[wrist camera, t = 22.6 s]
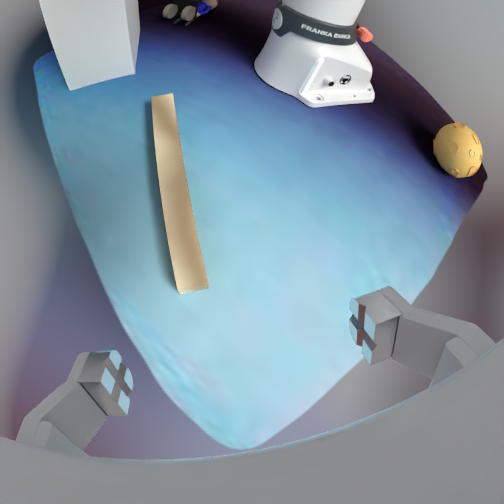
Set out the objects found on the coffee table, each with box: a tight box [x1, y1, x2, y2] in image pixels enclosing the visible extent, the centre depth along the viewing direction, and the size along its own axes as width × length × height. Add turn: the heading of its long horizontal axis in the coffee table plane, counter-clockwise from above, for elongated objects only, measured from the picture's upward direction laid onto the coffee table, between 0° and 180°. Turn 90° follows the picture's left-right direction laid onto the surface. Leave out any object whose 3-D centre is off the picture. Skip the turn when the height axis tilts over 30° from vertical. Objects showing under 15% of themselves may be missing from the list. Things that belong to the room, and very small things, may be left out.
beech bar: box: [151, 93, 208, 294], centre depth 30 cm, size 3×26×3 cm, turn 15°
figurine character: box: [163, 0, 218, 26], centre depth 41 cm, size 7×8×15 cm
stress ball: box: [433, 123, 483, 178], centre depth 37 cm, size 10×10×10 cm
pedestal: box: [39, 0, 140, 91], centre depth 24 cm, size 14×20×26 cm
